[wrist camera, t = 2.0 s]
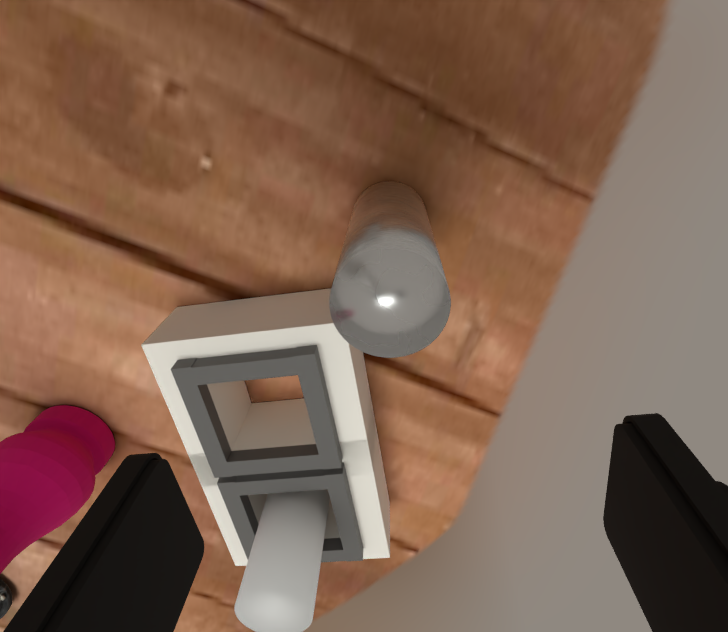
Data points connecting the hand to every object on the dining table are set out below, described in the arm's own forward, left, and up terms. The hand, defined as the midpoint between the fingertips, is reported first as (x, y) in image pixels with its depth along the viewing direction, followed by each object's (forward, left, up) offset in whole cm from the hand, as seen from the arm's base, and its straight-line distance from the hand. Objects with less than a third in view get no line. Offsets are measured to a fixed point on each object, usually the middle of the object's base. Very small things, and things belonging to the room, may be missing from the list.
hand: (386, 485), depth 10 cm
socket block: (+14, -9, -20) cm, 26 cm away
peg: (0, 0, -20) cm, 20 cm away
